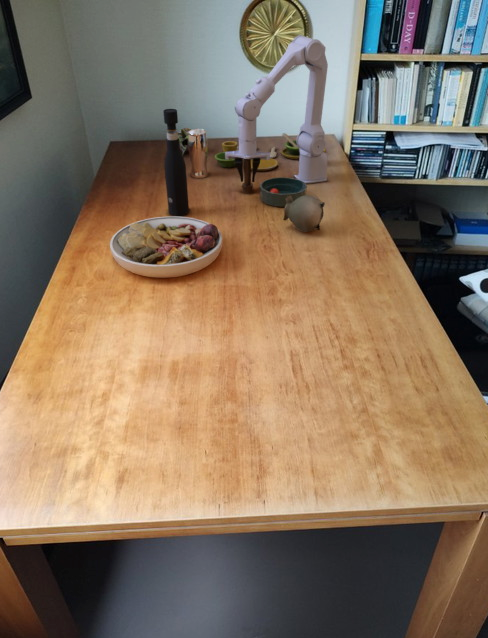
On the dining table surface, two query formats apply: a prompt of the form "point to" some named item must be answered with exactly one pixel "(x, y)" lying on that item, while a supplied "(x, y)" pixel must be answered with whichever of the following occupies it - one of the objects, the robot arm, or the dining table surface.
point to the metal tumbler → (198, 152)
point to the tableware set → (265, 165)
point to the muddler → (247, 177)
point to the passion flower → (183, 138)
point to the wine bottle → (175, 168)
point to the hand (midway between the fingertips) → (247, 180)
